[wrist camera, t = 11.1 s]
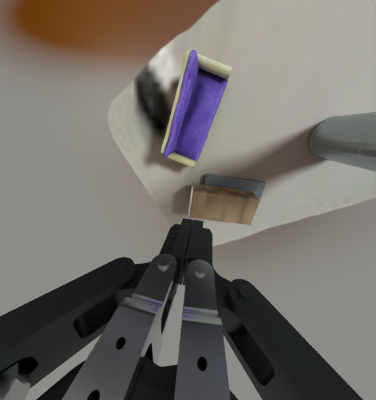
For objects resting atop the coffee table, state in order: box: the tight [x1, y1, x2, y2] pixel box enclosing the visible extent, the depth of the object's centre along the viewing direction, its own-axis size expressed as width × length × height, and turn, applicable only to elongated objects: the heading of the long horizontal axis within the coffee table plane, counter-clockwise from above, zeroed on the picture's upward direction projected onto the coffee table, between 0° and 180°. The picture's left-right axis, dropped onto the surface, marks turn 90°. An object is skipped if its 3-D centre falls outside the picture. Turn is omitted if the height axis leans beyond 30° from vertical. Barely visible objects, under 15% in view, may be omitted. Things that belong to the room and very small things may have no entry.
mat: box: [204, 174, 265, 220], centre depth 45 cm, size 17×14×2 cm
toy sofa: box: [160, 50, 232, 168], centre depth 34 cm, size 21×9×10 cm, turn 160°
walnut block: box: [188, 183, 260, 225], centre depth 42 cm, size 6×8×18 cm
